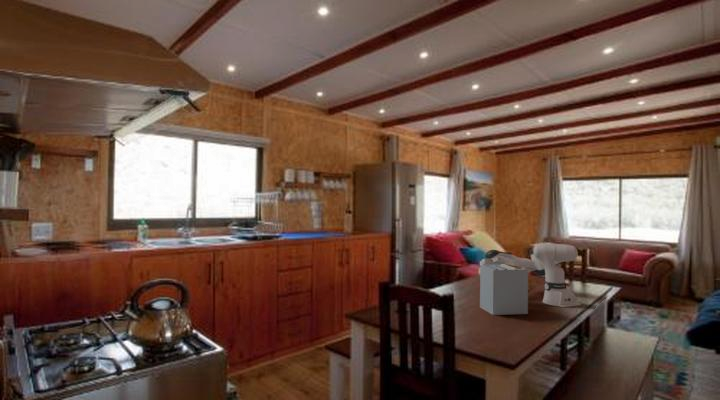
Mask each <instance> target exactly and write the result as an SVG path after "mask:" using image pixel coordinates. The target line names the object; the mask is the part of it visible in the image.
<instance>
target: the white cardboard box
mask: <svg viewBox="0 0 720 400" xmlns="http://www.w3.org/2000/svg"><path fill="white" fill-rule="evenodd" d="M479 266H480V267H479V269H480V275H479V279H480V280H479V287H480V288H479V308H480V309H482V310H484V311H485V312H486V313H489V314H491V315H492V316H501V315H502V316H503V315H504V316H505V315H528V314H529V272H528V269H526V268H523V267H520V266H513V265H504V264H501V265H494V264H491V265H486V264H483V265H480V264H479Z"/></svg>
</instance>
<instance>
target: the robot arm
mask: <svg viewBox="0 0 720 400" xmlns="http://www.w3.org/2000/svg"><path fill="white" fill-rule="evenodd" d="M578 254H579V252H578V249H577V248H576V246H574V245H571V244H565V243H551V242H550V243H548V242H546V243H545V242H543V243H537V244H535V245H534V246H533V247H532V248H531V249H530V250H529V256H530V259H529V258H525V257H517V256H516V255H515V254H513V253H511V252H505V251H499V250H497V249H490V250H488V251H486V253H485V256H484V258H483V259H481V260H480V261H479V266H480V265H483V264H486V265H491V264H494V265H501V264H504V265H509V264H506V263H503V262H500V261H499V260H500V259H499V257H497V256H503V257H507V258H510V259H514V260H518V261H519V266H520V267H523V268H526V269H528V273H529V272H533V274H534V275H537V276H538V277H541V278H542V277H543V278H544V277H545V280H544V293H543V299H542V301H541V302H542V303H543V304H546V305H549V306H556V307H561V308H568V307H577V306H578V307H579V306H581V303H580V302H579V301H577V297H576V295H575V293H574V292H572V291H571V290H570V289H568V288H570V287H571V283H568V282H567V283H566V282H565V270H564V268H562V267H561V266H559V265H558V264H560V263H564V262H574V261H576V260H577V258H578ZM478 275H479V276H480V268H478Z"/></svg>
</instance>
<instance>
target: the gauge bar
mask: <svg viewBox="0 0 720 400" xmlns="http://www.w3.org/2000/svg"><path fill="white" fill-rule="evenodd" d="M497 257H499V259H500V260H499V261H500V262H503V263H506V264H509V265H513V266H519V261H518V260H514V259H510V258H507V257H503V256H497Z"/></svg>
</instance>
